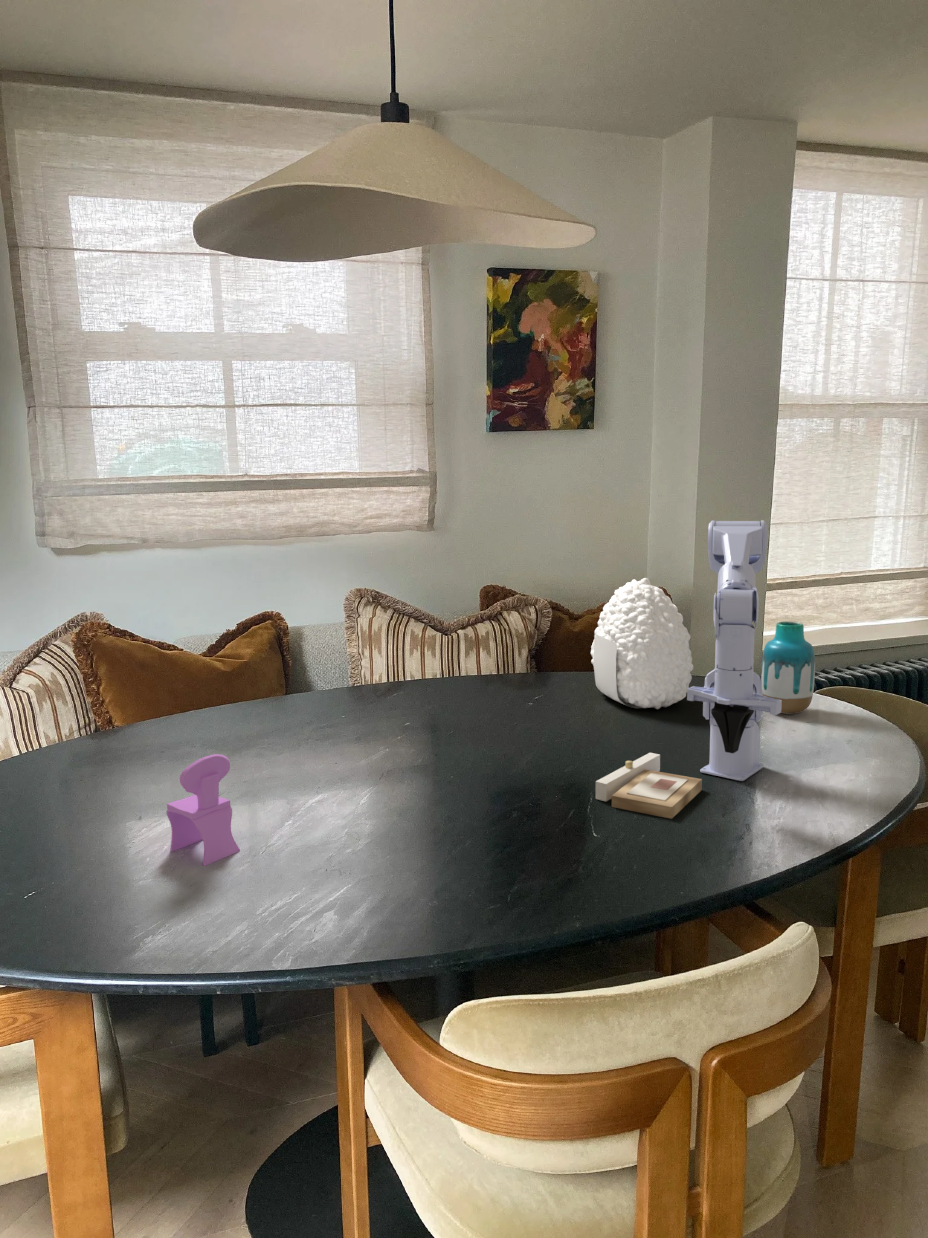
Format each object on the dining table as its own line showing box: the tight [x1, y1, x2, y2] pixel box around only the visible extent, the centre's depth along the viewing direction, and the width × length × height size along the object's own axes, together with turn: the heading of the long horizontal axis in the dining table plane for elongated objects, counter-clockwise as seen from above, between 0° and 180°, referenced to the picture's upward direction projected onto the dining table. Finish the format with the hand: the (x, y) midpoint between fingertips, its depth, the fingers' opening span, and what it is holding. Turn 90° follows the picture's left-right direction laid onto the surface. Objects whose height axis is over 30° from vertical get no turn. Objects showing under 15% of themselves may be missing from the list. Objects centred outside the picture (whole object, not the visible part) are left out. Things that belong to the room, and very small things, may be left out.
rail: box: [595, 752, 661, 802], centre depth 160 cm, size 18×2×4 cm, turn 140°
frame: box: [611, 769, 703, 819], centre depth 154 cm, size 14×10×3 cm
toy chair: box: [165, 753, 241, 867], centre depth 137 cm, size 8×9×15 cm
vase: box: [760, 620, 816, 715], centre depth 198 cm, size 11×11×19 cm
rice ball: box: [590, 577, 694, 710], centre depth 210 cm, size 28×19×28 cm
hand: (731, 751), depth 147 cm, fingers closed
